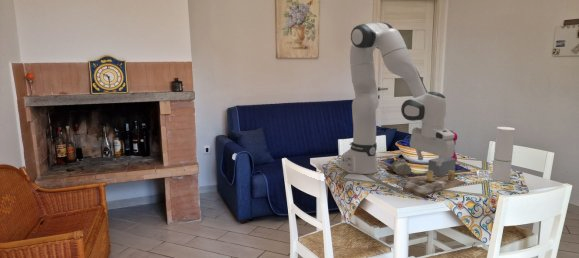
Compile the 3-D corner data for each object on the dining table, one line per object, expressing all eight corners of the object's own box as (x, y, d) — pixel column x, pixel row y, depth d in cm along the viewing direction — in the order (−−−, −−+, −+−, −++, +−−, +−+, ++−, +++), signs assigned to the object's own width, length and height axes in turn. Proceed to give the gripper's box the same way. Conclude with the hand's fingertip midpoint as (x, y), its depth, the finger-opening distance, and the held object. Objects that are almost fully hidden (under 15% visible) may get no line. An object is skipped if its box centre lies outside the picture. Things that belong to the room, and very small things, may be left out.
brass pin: (424, 186, 175) (425, 170, 174) (428, 185, 176) (429, 169, 175) (429, 188, 173) (430, 172, 171) (433, 187, 174) (434, 171, 173)
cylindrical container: (507, 180, 187) (513, 127, 182) (510, 185, 180) (516, 130, 175) (490, 179, 189) (495, 126, 184) (492, 183, 182) (498, 129, 177)
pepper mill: (457, 169, 204) (460, 130, 200) (442, 168, 205) (445, 130, 201) (454, 165, 211) (457, 127, 207) (440, 164, 212) (442, 127, 208)
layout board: (402, 190, 175) (403, 176, 174) (444, 178, 190) (445, 166, 188) (425, 198, 165) (426, 184, 164) (467, 186, 180) (468, 173, 178)
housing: (427, 176, 194) (428, 159, 192) (443, 171, 200) (445, 156, 199) (438, 179, 189) (439, 162, 187) (454, 175, 195) (455, 159, 194)
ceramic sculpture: (394, 160, 189) (385, 154, 204) (393, 178, 190) (385, 171, 205) (417, 160, 189) (407, 154, 204) (416, 178, 190) (406, 171, 205)
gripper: (407, 127, 177) (405, 157, 180) (448, 136, 160) (444, 170, 163) (417, 125, 180) (414, 155, 183) (458, 135, 164) (454, 168, 166)
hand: (429, 162), depth 173 cm, fingers open, 8 cm apart
